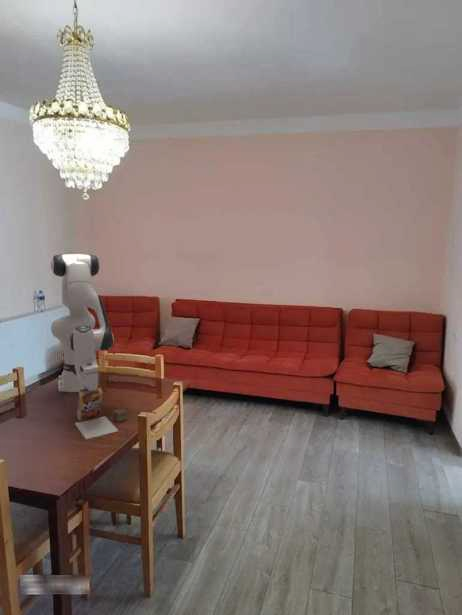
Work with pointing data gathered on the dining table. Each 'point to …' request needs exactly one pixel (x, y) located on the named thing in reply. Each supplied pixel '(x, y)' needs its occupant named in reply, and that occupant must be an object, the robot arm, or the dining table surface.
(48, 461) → the dining table surface
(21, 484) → the dining table surface
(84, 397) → the candy box
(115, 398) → the dining table surface
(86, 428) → the mat
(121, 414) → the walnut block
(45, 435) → the dining table surface
